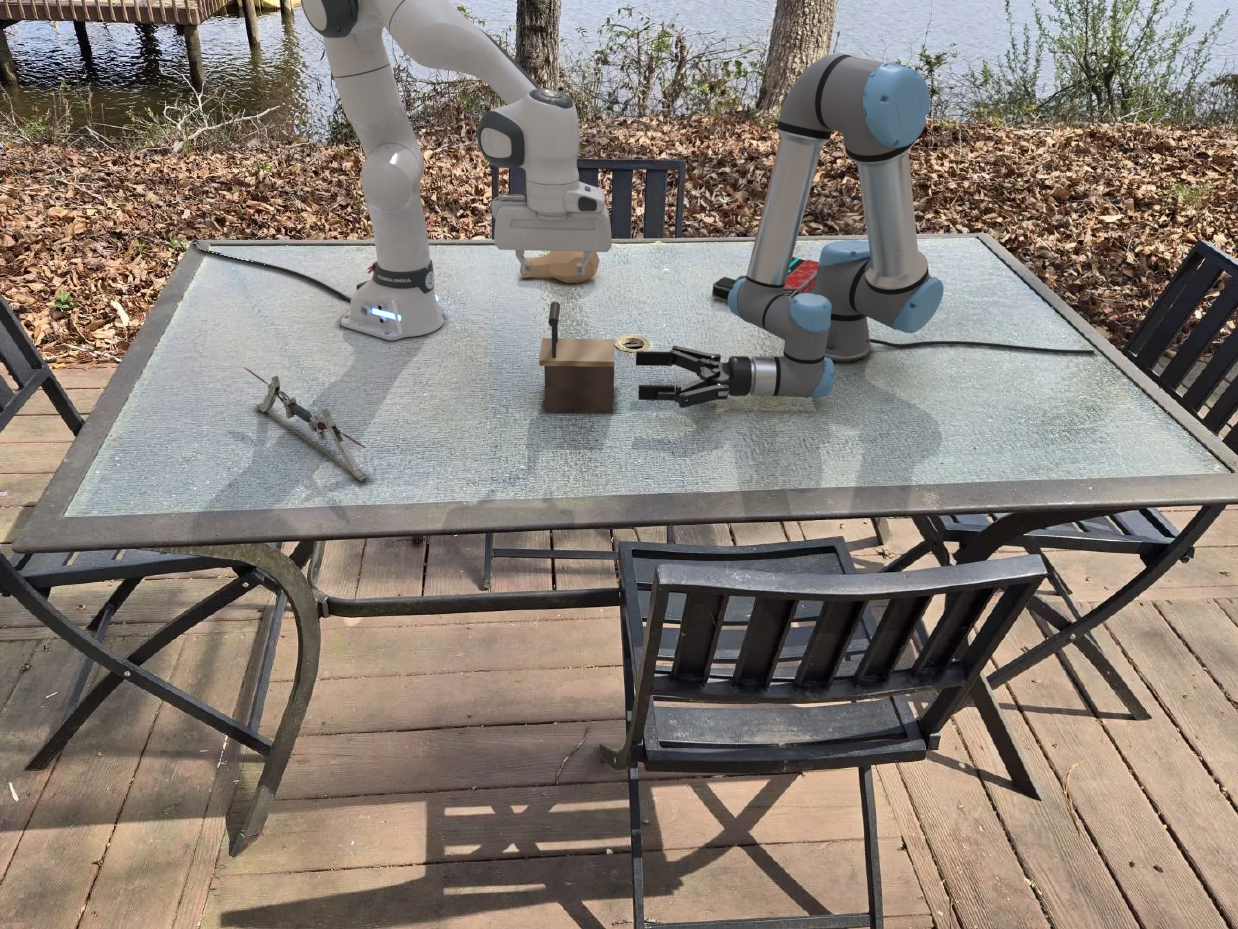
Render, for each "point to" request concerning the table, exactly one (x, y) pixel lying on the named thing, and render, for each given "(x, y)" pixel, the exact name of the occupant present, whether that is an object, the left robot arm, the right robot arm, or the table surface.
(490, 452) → the table surface
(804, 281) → the gun
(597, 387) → the chest
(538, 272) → the squash
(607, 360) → the lid
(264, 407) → the bow
